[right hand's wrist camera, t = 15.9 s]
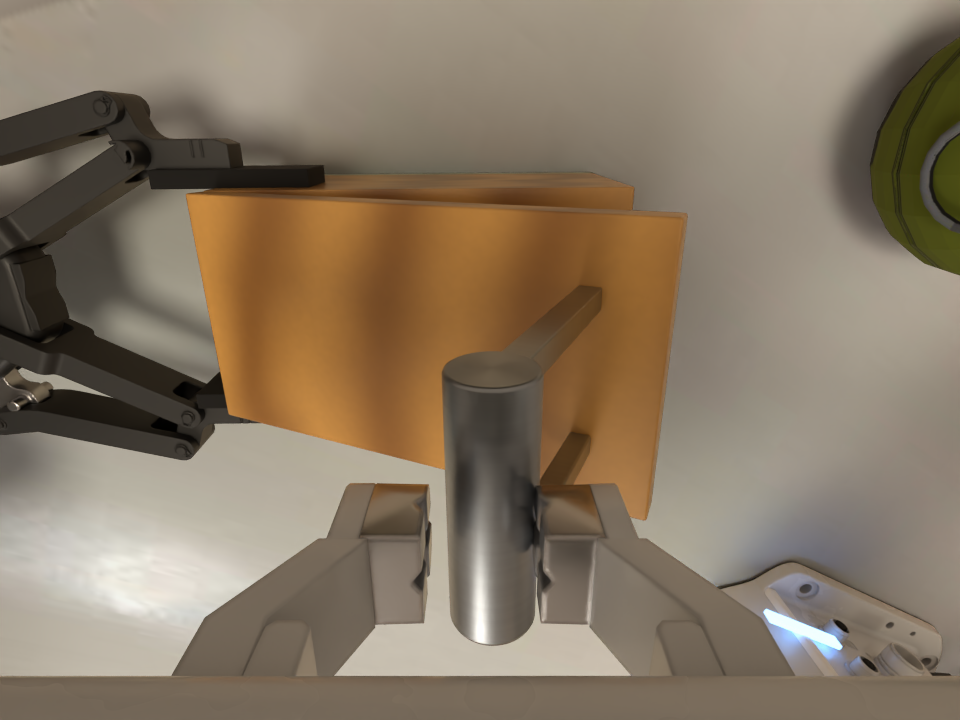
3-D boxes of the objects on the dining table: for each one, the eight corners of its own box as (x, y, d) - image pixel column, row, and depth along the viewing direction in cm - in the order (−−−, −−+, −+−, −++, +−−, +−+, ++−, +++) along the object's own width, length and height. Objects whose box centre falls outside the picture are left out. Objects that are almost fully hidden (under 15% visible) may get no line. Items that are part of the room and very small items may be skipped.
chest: (590, 172, 31) (634, 186, 22) (580, 334, 34) (615, 400, 26) (278, 174, 31) (202, 190, 22) (299, 337, 34) (242, 404, 26)
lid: (688, 212, 15) (619, 291, 8) (651, 503, 19) (578, 752, 11) (207, 191, 22) (-74, 221, 15) (246, 405, 26) (35, 517, 18)
